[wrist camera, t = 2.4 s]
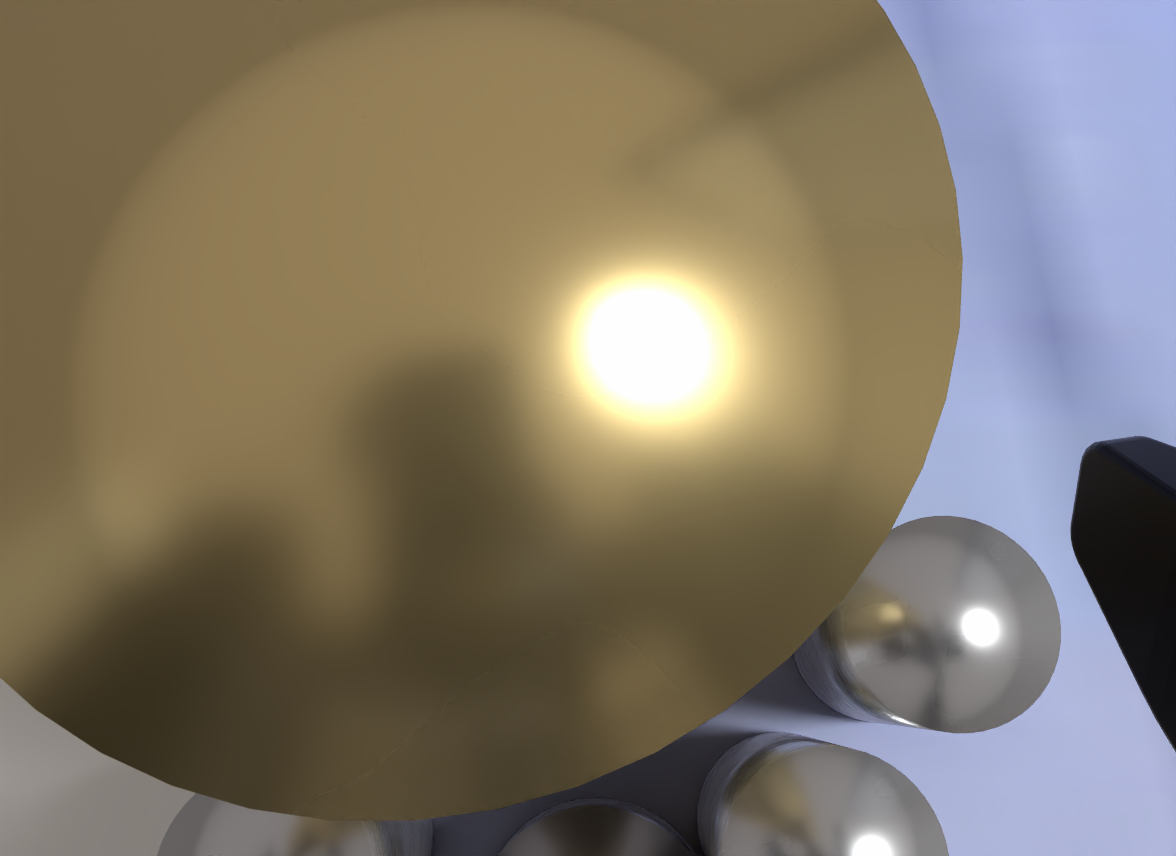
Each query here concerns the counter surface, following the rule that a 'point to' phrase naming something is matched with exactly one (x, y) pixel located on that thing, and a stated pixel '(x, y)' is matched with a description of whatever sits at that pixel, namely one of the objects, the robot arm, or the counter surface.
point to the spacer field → (784, 760)
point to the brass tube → (449, 376)
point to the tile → (73, 793)
